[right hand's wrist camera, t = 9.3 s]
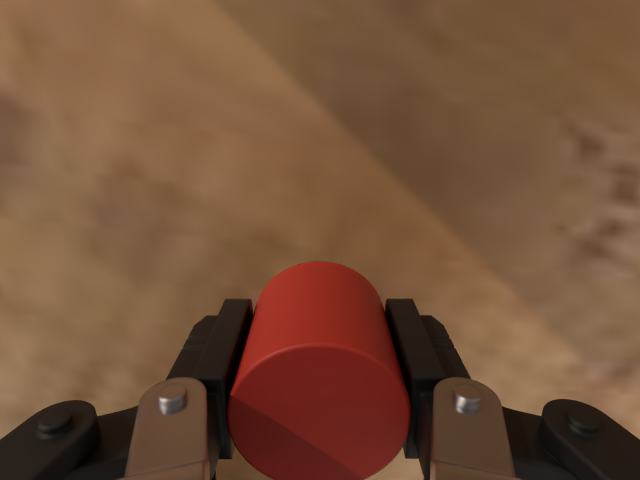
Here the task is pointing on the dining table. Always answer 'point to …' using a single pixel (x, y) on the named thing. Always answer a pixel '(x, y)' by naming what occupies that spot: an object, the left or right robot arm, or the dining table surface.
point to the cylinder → (319, 379)
